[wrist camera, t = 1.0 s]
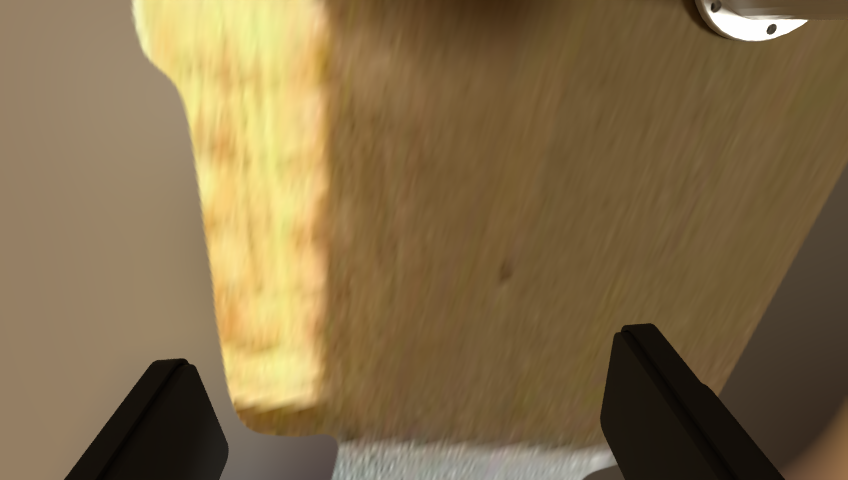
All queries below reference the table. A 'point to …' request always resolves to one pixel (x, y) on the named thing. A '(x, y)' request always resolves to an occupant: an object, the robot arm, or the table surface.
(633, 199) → the table surface
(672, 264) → the table surface
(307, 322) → the table surface
